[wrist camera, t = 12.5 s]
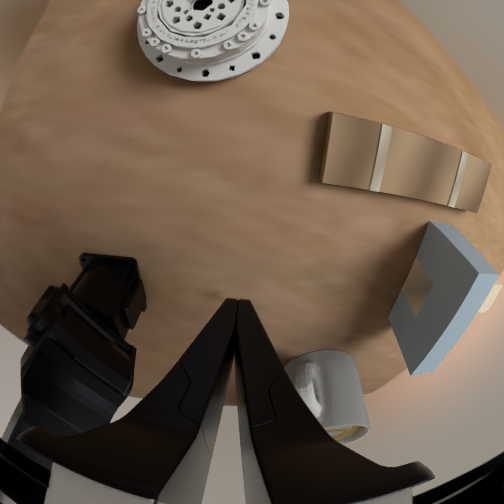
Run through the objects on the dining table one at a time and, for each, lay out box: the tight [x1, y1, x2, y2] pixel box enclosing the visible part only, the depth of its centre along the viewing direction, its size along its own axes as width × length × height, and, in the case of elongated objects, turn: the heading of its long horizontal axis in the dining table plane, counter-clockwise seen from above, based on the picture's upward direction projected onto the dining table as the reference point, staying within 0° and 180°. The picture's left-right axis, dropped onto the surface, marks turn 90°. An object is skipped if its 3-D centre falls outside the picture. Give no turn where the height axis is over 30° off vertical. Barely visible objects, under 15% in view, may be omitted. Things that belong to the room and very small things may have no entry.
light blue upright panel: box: [388, 221, 503, 375], centre depth 20 cm, size 12×12×8 cm
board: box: [319, 112, 492, 213], centre depth 17 cm, size 16×5×1 cm, turn 86°
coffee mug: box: [284, 350, 370, 445], centre depth 27 cm, size 13×10×10 cm
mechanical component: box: [137, 0, 289, 82], centre depth 11 cm, size 10×4×10 cm
